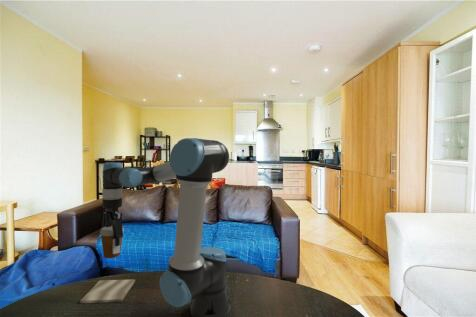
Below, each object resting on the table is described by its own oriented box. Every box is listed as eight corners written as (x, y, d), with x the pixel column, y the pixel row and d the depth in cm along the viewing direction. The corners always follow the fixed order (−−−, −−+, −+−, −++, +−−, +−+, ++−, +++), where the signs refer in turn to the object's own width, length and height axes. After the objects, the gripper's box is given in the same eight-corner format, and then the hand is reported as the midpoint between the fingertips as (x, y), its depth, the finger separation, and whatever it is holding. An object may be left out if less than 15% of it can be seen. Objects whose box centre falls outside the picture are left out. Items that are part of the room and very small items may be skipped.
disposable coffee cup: (128, 251, 110) (128, 225, 110) (115, 260, 100) (115, 231, 100) (108, 250, 111) (108, 224, 111) (94, 259, 101) (94, 230, 101)
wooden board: (135, 281, 114) (135, 279, 114) (121, 301, 98) (121, 299, 98) (99, 282, 112) (99, 280, 112) (79, 303, 97) (79, 300, 97)
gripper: (132, 200, 101) (131, 254, 101) (111, 194, 115) (110, 242, 115) (113, 202, 95) (113, 260, 96) (93, 196, 109) (93, 246, 109)
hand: (111, 250), depth 105 cm, fingers closed on disposable coffee cup, 8 cm apart
